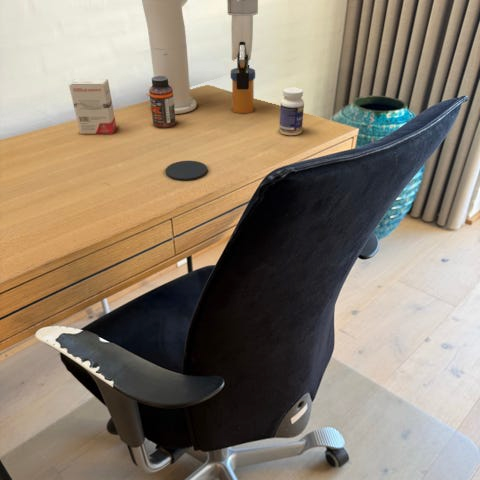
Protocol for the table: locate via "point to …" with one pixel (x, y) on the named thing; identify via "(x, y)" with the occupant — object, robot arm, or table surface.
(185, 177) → the coaster
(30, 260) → the table surface
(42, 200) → the table surface
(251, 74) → the jar lid
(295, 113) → the pill bottle
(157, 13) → the robot arm
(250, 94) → the jar
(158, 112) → the supplement bottle
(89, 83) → the ink box
